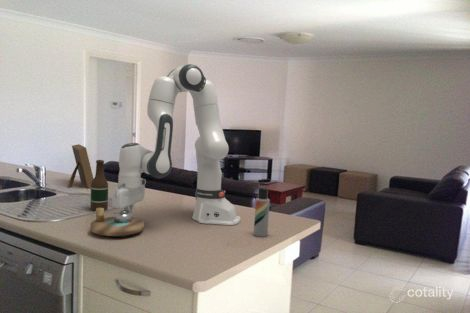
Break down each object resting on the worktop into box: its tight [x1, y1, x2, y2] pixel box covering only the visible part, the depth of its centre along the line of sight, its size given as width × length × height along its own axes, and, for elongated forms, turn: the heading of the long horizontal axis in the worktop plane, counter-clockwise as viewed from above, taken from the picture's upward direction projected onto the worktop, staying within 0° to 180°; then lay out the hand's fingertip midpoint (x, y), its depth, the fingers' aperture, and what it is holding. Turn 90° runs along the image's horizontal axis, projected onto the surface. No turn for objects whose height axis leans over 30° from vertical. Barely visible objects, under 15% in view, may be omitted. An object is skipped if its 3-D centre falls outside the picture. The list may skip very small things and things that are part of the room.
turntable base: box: [101, 234, 133, 238], centre depth 155 cm, size 14×14×1 cm
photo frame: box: [67, 143, 94, 189], centre depth 242 cm, size 15×22×25 cm
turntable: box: [90, 208, 145, 237], centre depth 154 cm, size 20×20×7 cm
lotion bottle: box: [253, 186, 271, 238], centre depth 160 cm, size 6×6×20 cm
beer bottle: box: [90, 159, 109, 212], centre depth 186 cm, size 8×8×24 cm
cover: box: [113, 209, 133, 223], centre depth 158 cm, size 7×7×4 cm
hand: (128, 215), depth 163 cm, fingers closed
